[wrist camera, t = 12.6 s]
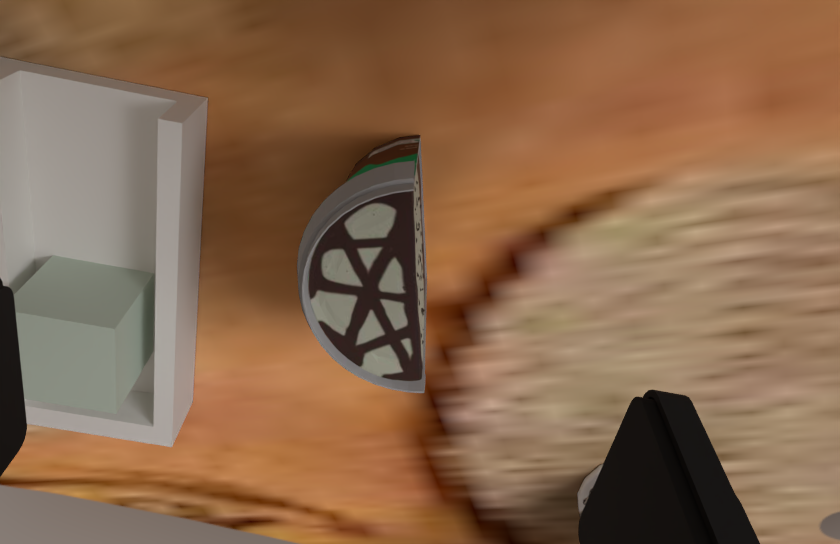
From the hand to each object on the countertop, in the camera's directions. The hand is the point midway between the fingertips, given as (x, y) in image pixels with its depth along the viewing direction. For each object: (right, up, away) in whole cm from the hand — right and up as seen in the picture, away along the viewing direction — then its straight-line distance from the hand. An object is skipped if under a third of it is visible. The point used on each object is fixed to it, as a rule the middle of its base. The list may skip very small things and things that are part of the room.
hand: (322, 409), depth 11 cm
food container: (-1, +6, +32) cm, 32 cm away
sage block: (-18, 0, +34) cm, 38 cm away
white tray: (-22, +4, +33) cm, 40 cm away
